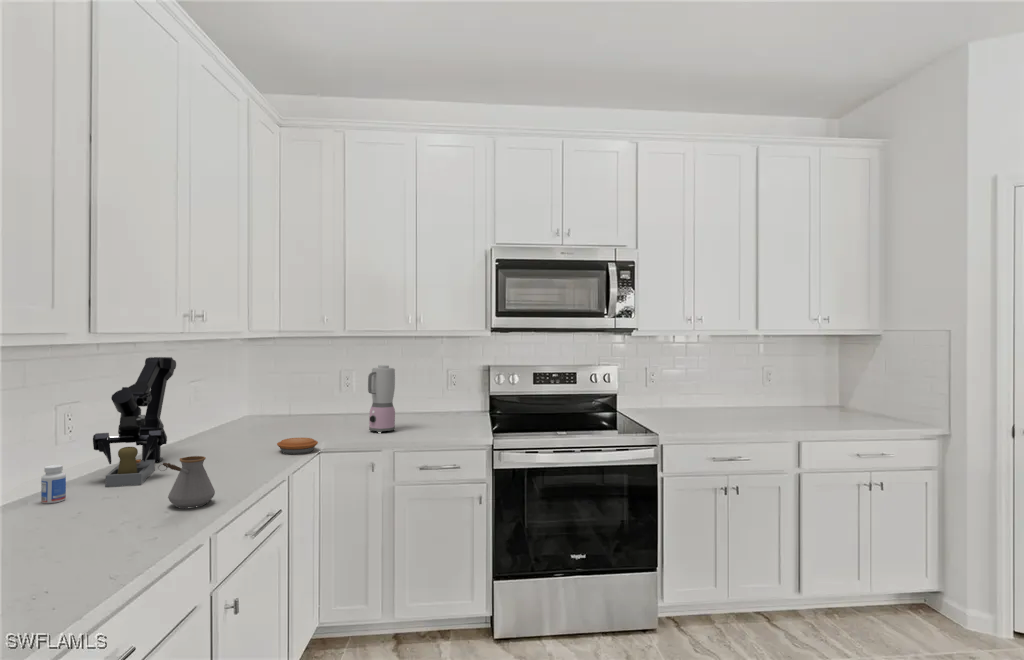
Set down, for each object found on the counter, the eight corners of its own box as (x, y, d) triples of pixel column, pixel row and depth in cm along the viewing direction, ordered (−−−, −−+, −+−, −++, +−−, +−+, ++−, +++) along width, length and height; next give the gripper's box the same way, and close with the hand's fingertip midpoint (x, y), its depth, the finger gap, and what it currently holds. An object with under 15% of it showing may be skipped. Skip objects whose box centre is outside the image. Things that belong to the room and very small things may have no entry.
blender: (382, 428, 294) (384, 364, 294) (400, 431, 287) (401, 365, 287) (358, 432, 281) (359, 365, 281) (376, 435, 274) (377, 366, 274)
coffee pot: (181, 498, 169) (182, 446, 169) (221, 498, 170) (223, 446, 170) (137, 522, 148) (138, 463, 148) (184, 523, 148) (185, 463, 148)
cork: (134, 478, 189) (135, 444, 189) (141, 482, 185) (142, 447, 185) (112, 482, 184) (113, 447, 184) (119, 485, 180) (120, 450, 180)
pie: (276, 456, 226) (277, 443, 226) (276, 448, 240) (277, 436, 240) (318, 454, 231) (319, 441, 231) (316, 447, 246) (316, 435, 246)
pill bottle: (68, 497, 167) (69, 463, 167) (61, 503, 162) (62, 467, 162) (45, 499, 165) (46, 464, 165) (37, 504, 160) (38, 468, 160)
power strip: (122, 471, 198) (122, 459, 198) (154, 469, 201) (154, 457, 201) (105, 487, 179) (105, 473, 179) (141, 484, 182) (141, 471, 182)
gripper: (94, 407, 183) (89, 449, 174) (163, 405, 193) (162, 444, 183) (96, 429, 190) (91, 470, 181) (163, 425, 200) (162, 464, 190)
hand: (127, 462), depth 184 cm, fingers open, 9 cm apart
